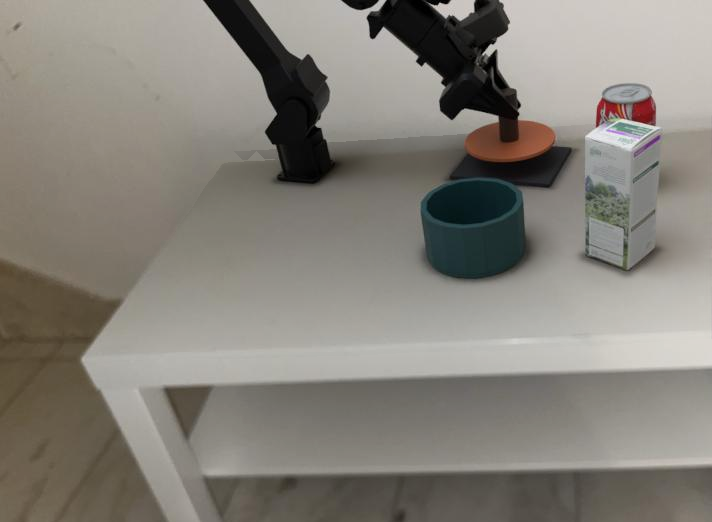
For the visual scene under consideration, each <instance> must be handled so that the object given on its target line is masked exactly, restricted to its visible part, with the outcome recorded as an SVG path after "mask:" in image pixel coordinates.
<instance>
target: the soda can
mask: <svg viewBox="0 0 712 522" xmlns="http://www.w3.org/2000/svg"><path fill="white" fill-rule="evenodd" d="M652 94H653V91H652V89H651V87H649V86H647V85H645V84H643V83H642V84H641V83H635V82H624V83H623V82H622V83H616V84H613V85H610V86H608V87H605V89H602V92H601V98H600V100H599V102H598V104H597V106H596V113H595V129H596V128H597V127H598V126H600V125H601V124H603V123H605V122H606V121H609V120H611V119H612V118H615V117H616V118H621V119H625V120H630V121H634V122H639V123H643V124H647V125H651V126H656V127H657V105H656V101H655V100H654V98H653V96H652Z"/></svg>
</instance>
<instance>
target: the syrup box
mask: <svg viewBox="0 0 712 522" xmlns="http://www.w3.org/2000/svg"><path fill="white" fill-rule="evenodd" d="M662 132H663V128H662V127H661V126H657V125H656V126H651V125H647V124H643V123H639V122H634V121H630V120H625V119H621V118H616V117H615V118H612V119H611V120H609V121H606V122H605V123H603V124H601V125H600V126H598V127H597V128H596V127H595V128H594V129H593V130H591V131H590V132H589V133H588V134H586V135H585V136H584V218H585V219H584V224H585V225H584V232H585V233H584V234H585V239H584V240H585V243H584V246H585V248H584V249H585V256H587V257H589V258H592V259H595V260H597V261H601V262H603V263H606V264H609V265H611V266H614V267H617V268H619V269H622V270H625V271H629V270H630V269H631V268H633V267H634V266H636V265H637V264H638V263H639V262H640V261H642V259H644V258H645V257H646V256H648V255H649V254H650V253H651V252H652V251H653V250H655V249H656V248H655V247H656V234H657V233H656V231H657V229H656V227H657V210H658V195H659V181H660V169H661V168H660V167H661V166H660V165H661V155H662V136H663V133H662Z"/></svg>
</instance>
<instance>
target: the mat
mask: <svg viewBox="0 0 712 522" xmlns="http://www.w3.org/2000/svg"><path fill="white" fill-rule="evenodd" d="M571 153H572V147H570V146H554V145H553V146H552V147H551V148H550V149H549V150H547V151H546V152H544V153H542V154H540V155H538V156H535V157H533V158H529V159H525V160H520V161H513V162H492V161H485V160H481V159H478V158H475V157H473V156H471V155H470V154H469V153H468V152H467V154H466V155H465V156H464V157H463V158H462V160H461V161H460V162H459V163H458V164H457V166H456V167H455V169H453V170H452V172H451V173H450V174H449V179H450V180H459V179H467V178H477V177H482V178H495V179H500V180H503V181H506V182H509V183H512V184H514V185H517V186H528V187H529V186H530V187H540V188H541V187H543V188H550V187H551V185H552V183H553V182H554V180H555V178H556V177H557V175H558V174H559V172H560V170H561V169H562V168H563V165H564V164H565V162H566V160H567V159H568V157H569V156H570V154H571Z"/></svg>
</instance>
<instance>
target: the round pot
mask: <svg viewBox="0 0 712 522" xmlns="http://www.w3.org/2000/svg"><path fill="white" fill-rule="evenodd" d="M419 212H420V217H421V226H422V231H423V239H424V245H425V252H426V253H425V254H426V258H427V260H428V262H429V264H430V266H431V267H432V268H433V269H434V270H436V271H438V272H439V273H441V274H444V275H446V276H449V277H454V278H459V279H478V278H486V277H490V276H495V275H498V274H500V273H504V272H506V271H507V270H510V269H511V268H512V267H514V266H515V265H517V264H518V263H519V262H520V261H521V260H522V258H523V257H524V255H525V252H526V247H527V246H526V245H527V244H526V225H525V223H526V222H525V205H524V196H523V191H522V190H520V188H519V187H517V186H516V184H512V183H509V182H506V181H503V180H500V179H495V178H482V177H477V178H467V179H459V180H458V179H455V180H453V181H449V182H446V183H443V184H441V185H439V186H437V187H435V188H433V189H432V190H429V192H428V193H427V194H426V195H425V196H424V197H423V199H422V200H421V201H420V211H419Z"/></svg>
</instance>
